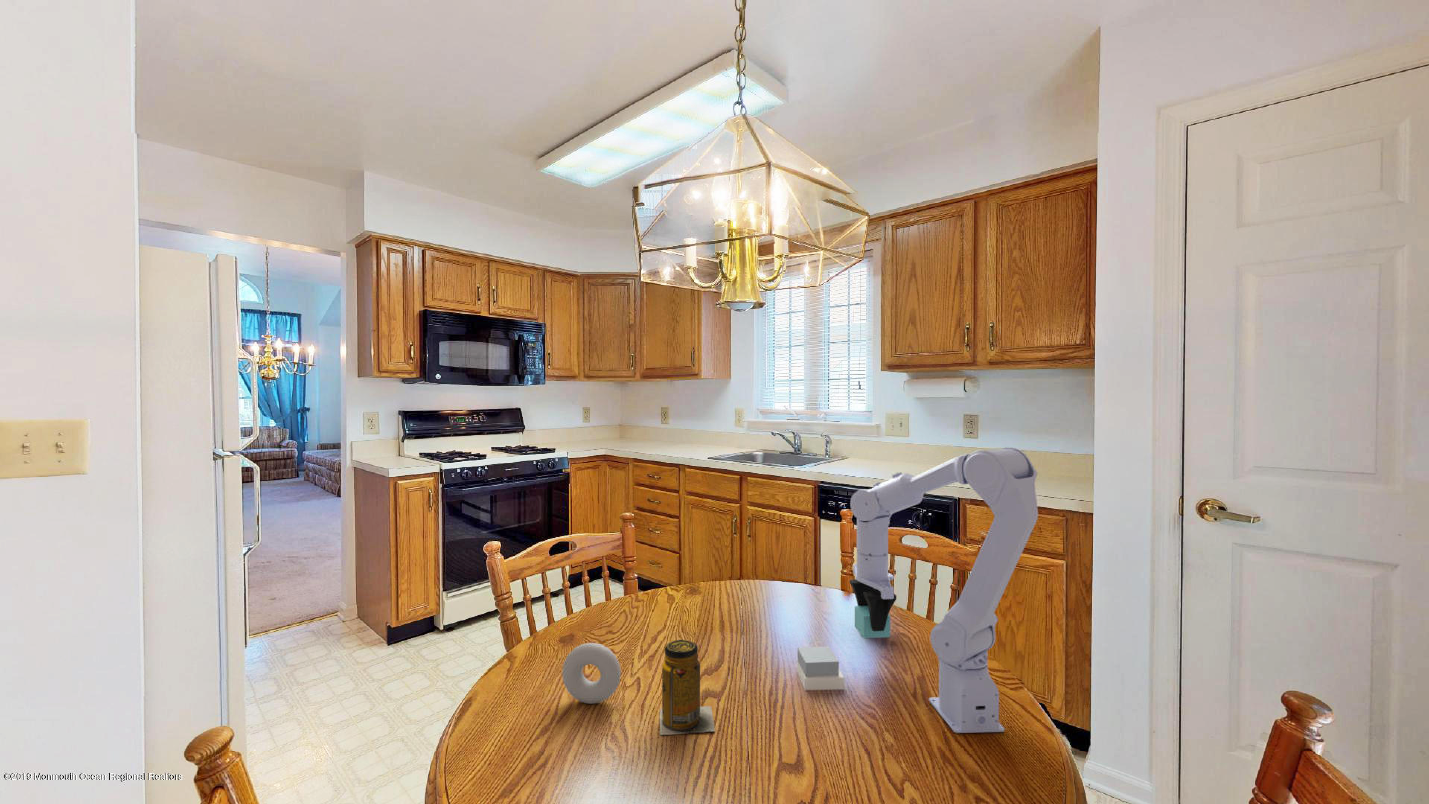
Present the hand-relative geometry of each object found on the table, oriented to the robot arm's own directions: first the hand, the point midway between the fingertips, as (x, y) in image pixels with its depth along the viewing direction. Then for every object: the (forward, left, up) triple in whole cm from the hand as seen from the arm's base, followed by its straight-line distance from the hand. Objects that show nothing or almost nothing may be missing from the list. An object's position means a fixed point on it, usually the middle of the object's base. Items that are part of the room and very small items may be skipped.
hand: (871, 624), depth 105 cm
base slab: (-3, +11, -9) cm, 14 cm away
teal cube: (0, 0, -2) cm, 2 cm away
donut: (-9, +51, -9) cm, 53 cm away
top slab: (-3, +11, -7) cm, 13 cm away
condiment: (-15, +35, -9) cm, 39 cm away
